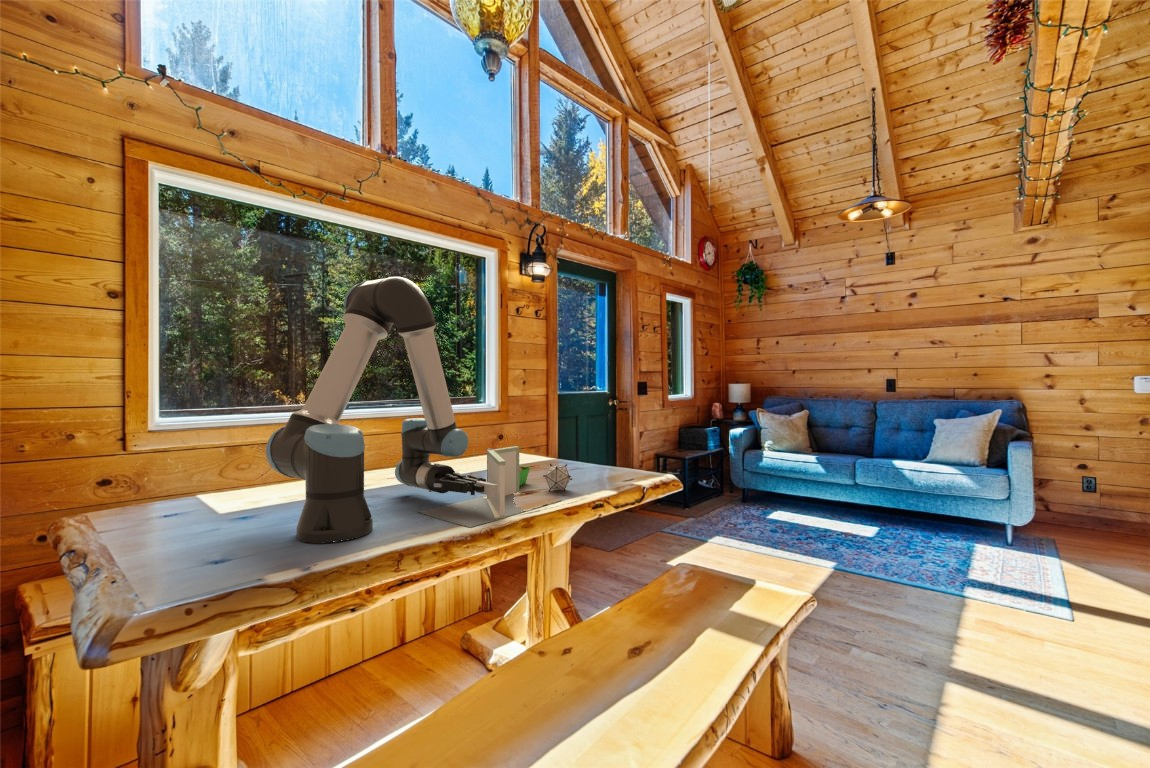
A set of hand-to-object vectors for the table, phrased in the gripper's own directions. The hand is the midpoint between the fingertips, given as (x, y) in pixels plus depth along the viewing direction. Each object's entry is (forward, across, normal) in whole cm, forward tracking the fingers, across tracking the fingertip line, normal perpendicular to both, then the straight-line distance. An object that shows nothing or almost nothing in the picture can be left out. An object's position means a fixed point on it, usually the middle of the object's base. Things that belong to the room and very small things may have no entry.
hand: (495, 490), depth 126 cm
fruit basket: (-22, -27, -7) cm, 36 cm away
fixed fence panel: (-14, -17, -6) cm, 23 cm away
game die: (-6, -31, -6) cm, 32 cm away
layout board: (-7, -6, -6) cm, 11 cm away
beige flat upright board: (-6, -6, -6) cm, 10 cm away
